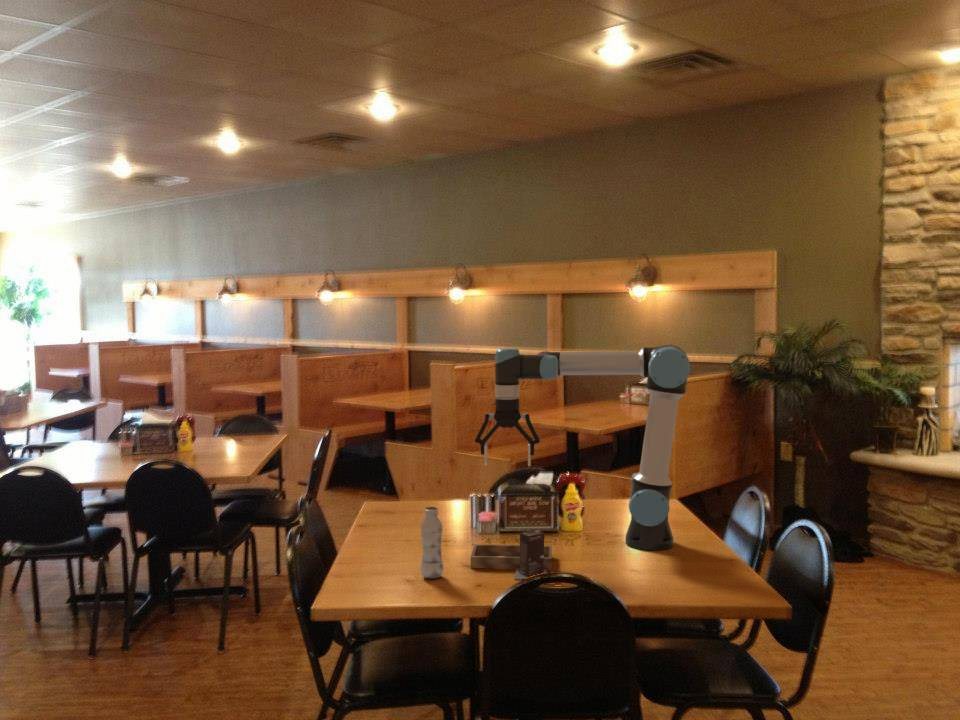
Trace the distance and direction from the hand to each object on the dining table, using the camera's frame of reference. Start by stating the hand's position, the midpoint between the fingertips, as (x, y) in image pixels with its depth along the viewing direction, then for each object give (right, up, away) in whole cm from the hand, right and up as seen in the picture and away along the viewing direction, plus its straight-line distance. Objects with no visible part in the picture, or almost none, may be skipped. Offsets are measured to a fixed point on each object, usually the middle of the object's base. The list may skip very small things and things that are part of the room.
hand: (507, 465), depth 272 cm
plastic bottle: (-22, -29, -25) cm, 44 cm away
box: (+6, -28, -23) cm, 37 cm away
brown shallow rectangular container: (+1, -28, -12) cm, 30 cm away
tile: (+6, -29, -23) cm, 37 cm away
